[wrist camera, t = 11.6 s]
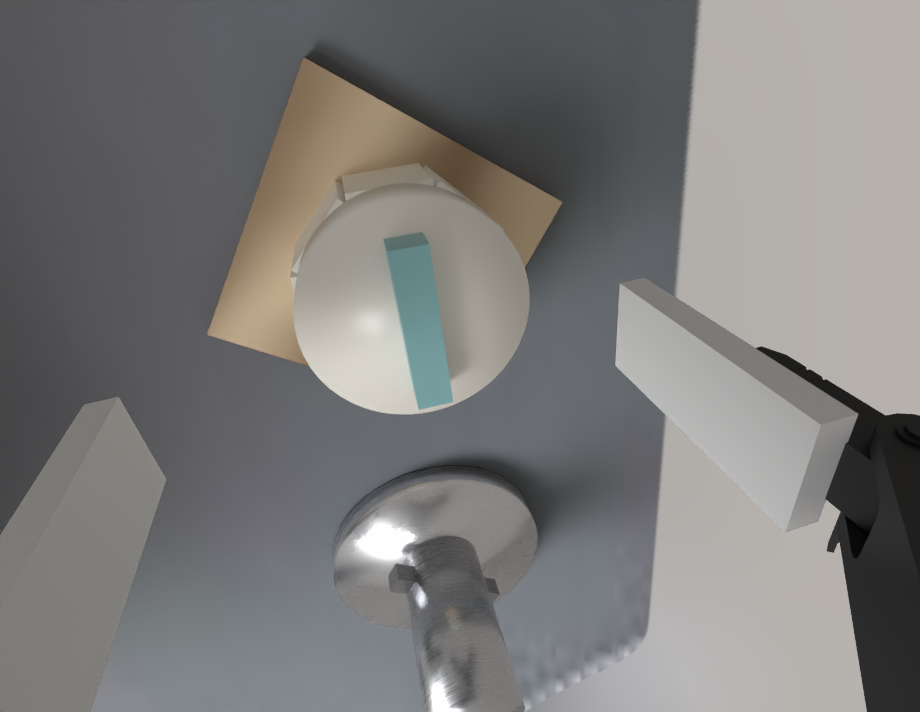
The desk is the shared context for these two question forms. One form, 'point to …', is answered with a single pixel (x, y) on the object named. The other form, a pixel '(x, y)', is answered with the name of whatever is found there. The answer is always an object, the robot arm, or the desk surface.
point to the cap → (406, 292)
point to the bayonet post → (442, 577)
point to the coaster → (329, 158)
